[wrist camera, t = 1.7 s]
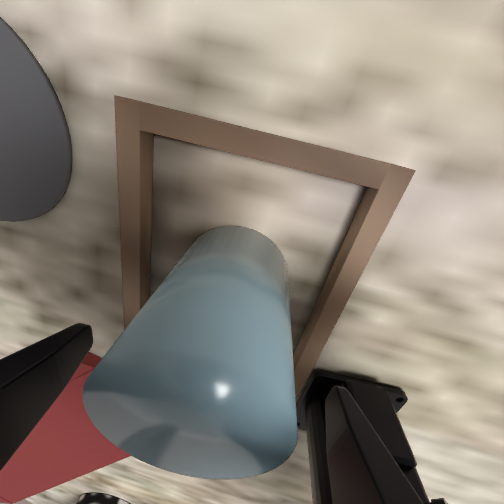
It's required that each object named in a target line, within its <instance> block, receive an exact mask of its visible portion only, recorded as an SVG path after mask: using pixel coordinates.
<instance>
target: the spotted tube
mask: <svg viewBox="0 0 504 504" xmlns="http://www.w3.org/2000/svg"><path fill="white" fill-rule="evenodd" d="M77 504H129V503H128V502H126V501H124V500H122V499H119V498H117V497H114V496H110V495H106V494H100V493H87V494H83V495H81V496H80V498H79V500H78V502H77Z"/></svg>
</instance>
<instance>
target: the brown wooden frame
mask: <svg viewBox="0 0 504 504" xmlns="http://www.w3.org/2000/svg"><path fill="white" fill-rule="evenodd" d="M114 98H115V121H116V144H117V168H118V191H119V215H120V238H121V261H122V285H123V308H124V330H125V329H126V328H127V326H128V325H129V324H130V323H131V321H132V320H133V319H134V318H135V316H136V315H137V314H138V312H139V311H140V310H141V309H142V307H143V306H144V305H145V303H146V302H147V301H148V300H149V298H150V267H151V224H152V182H153V139H154V134H157V135H161V136H165V137H169V138H173V139H177V140H181V141H186V142H190V143H194V144H198V145H202V146H206V147H210V148H214V149H218V150H222V151H226V152H230V153H234V154H238V155H242V156H246V157H250V158H254V159H258V160H262V161H266V162H270V163H274V164H278V165H282V166H286V167H290V168H294V169H298V170H302V171H306V172H310V173H314V174H318V175H322V176H326V177H330V178H335V179H339V180H343V181H347V182H351V183H355V184H359V185H363V186H367V190H366V192H365V194H364V196H363V199H362V201H361V203H360V205H359V208H358V210H357V212H356V214H355V217H354V219H353V221H352V223H351V226H350V228H349V230H348V232H347V235H346V237H345V239H344V242H343V244H342V246H341V248H340V251H339V253H338V255H337V257H336V260H335V262H334V264H333V266H332V269H331V271H330V273H329V275H328V278H327V280H326V282H325V284H324V287H323V289H322V291H321V293H320V296H319V298H318V300H317V302H316V305H315V307H314V309H313V311H312V314H311V316H310V318H309V320H308V323H307V325H306V327H305V329H304V332H303V334H302V336H301V338H300V341H299V343H298V345H297V348H296V350H295V352H294V354H293V366H294V382H295V395H296V396H299V394H300V392H301V390H302V388H303V386H304V384H305V382H306V380H307V378H308V376H309V374H310V373H311V371H312V369H313V367H314V365H315V363H316V361H317V359H318V357H319V355H320V353H321V351H322V349H323V348H324V346H325V344H326V342H327V340H328V338H329V336H330V334H331V332H332V330H333V328H334V326H335V324H336V323H337V321H338V319H339V317H340V315H341V313H342V311H343V309H344V307H345V305H346V303H347V301H348V299H349V298H350V296H351V294H352V292H353V290H354V288H355V286H356V284H357V282H358V280H359V278H360V276H361V274H362V273H363V271H364V269H365V267H366V265H367V263H368V261H369V259H370V257H371V255H372V253H373V251H374V250H375V248H376V246H377V244H378V242H379V240H380V238H381V236H382V234H383V232H384V230H385V228H386V226H387V225H388V223H389V221H390V219H391V217H392V215H393V213H394V211H395V209H396V207H397V205H398V203H399V201H400V200H401V198H402V196H403V194H404V192H405V190H406V188H407V186H408V184H409V182H410V180H411V178H412V176H413V175H414V173H415V171H416V170H412V169H409V168H405V167H401V166H397V165H393V164H389V163H385V162H381V161H377V160H373V159H369V158H365V157H361V156H357V155H353V154H349V153H345V152H341V151H337V150H333V149H329V148H325V147H321V146H317V145H313V144H309V143H305V142H301V141H297V140H293V139H289V138H285V137H281V136H277V135H273V134H269V133H265V132H261V131H257V130H253V129H249V128H245V127H241V126H237V125H233V124H229V123H225V122H221V121H217V120H213V119H209V118H205V117H201V116H197V115H193V114H189V113H185V112H181V111H177V110H173V109H169V108H165V107H161V106H157V105H153V104H149V103H145V102H141V101H137V100H133V99H128V98H124V97H120V96H115V95H114Z"/></svg>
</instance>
